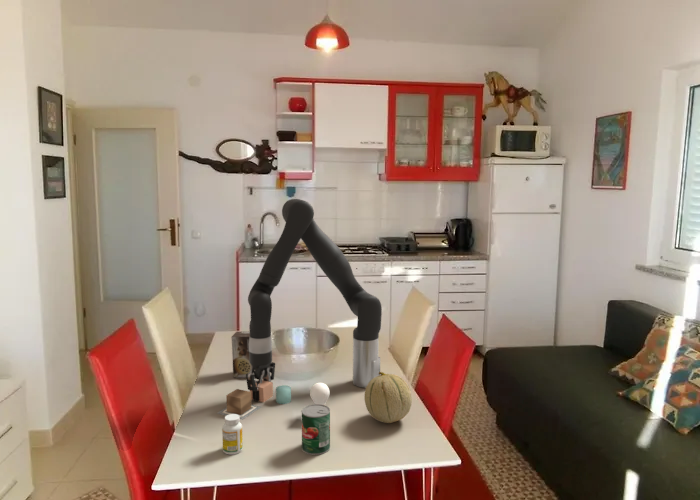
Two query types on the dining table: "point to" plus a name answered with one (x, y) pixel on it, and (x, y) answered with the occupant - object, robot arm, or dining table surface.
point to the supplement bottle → (232, 434)
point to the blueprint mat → (244, 415)
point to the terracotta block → (264, 391)
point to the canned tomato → (315, 429)
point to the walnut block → (238, 401)
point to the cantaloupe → (388, 398)
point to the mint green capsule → (283, 394)
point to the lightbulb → (319, 393)
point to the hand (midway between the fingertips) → (261, 397)
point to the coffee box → (241, 354)
